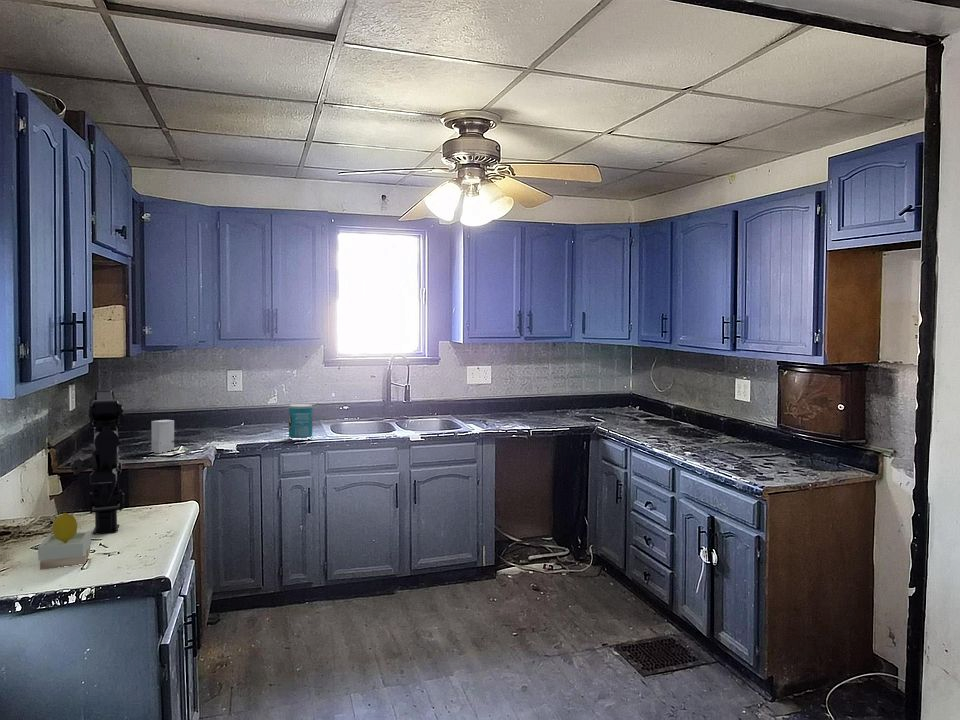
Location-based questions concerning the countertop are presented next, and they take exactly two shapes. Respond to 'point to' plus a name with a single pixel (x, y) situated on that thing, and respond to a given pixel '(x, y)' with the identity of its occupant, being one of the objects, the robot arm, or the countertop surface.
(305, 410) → the food can
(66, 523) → the lemon
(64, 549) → the dish block
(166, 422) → the skincare box
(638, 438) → the countertop surface
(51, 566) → the base block
